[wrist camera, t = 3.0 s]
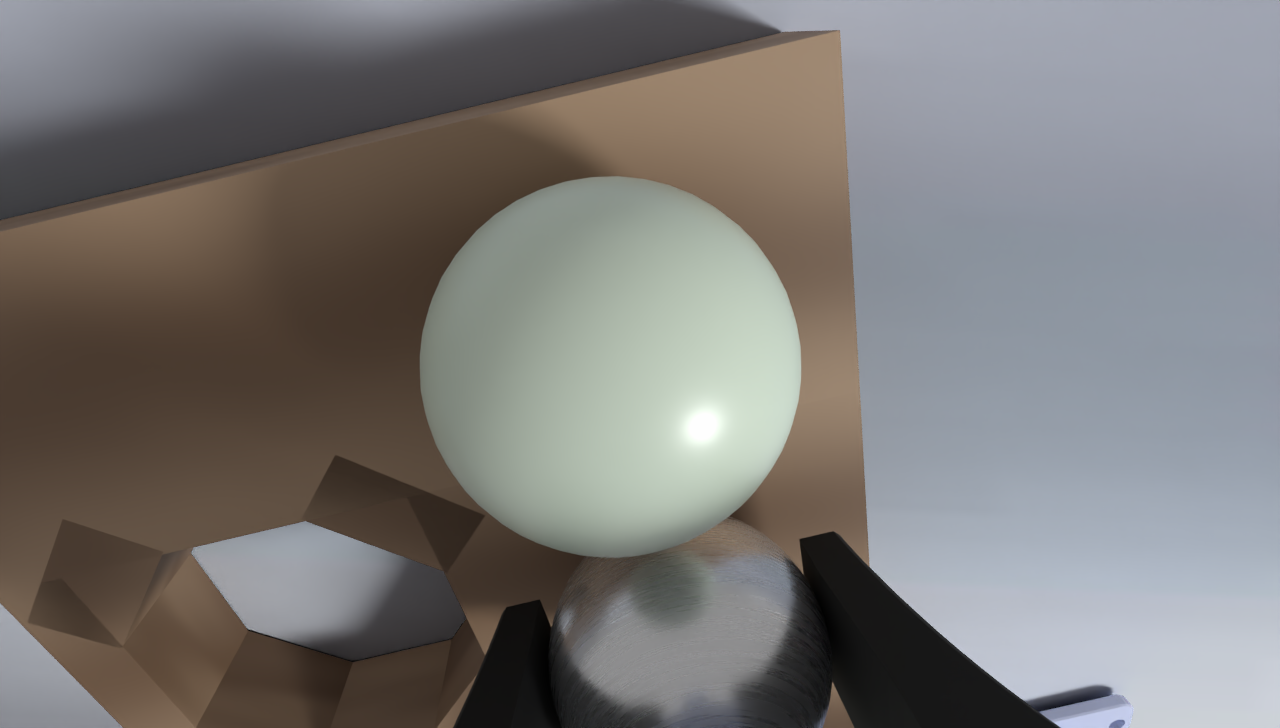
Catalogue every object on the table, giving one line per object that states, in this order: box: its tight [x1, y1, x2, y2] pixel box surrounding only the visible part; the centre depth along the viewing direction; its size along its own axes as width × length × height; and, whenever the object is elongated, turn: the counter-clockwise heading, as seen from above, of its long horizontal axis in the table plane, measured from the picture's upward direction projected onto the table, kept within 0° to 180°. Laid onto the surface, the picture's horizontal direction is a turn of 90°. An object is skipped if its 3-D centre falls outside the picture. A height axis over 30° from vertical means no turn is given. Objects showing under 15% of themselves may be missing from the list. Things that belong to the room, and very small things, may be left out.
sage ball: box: [420, 176, 801, 558], centre depth 8 cm, size 5×5×5 cm
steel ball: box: [548, 517, 832, 728], centre depth 11 cm, size 5×5×5 cm
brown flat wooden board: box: [0, 30, 869, 728], centre depth 14 cm, size 18×16×2 cm
